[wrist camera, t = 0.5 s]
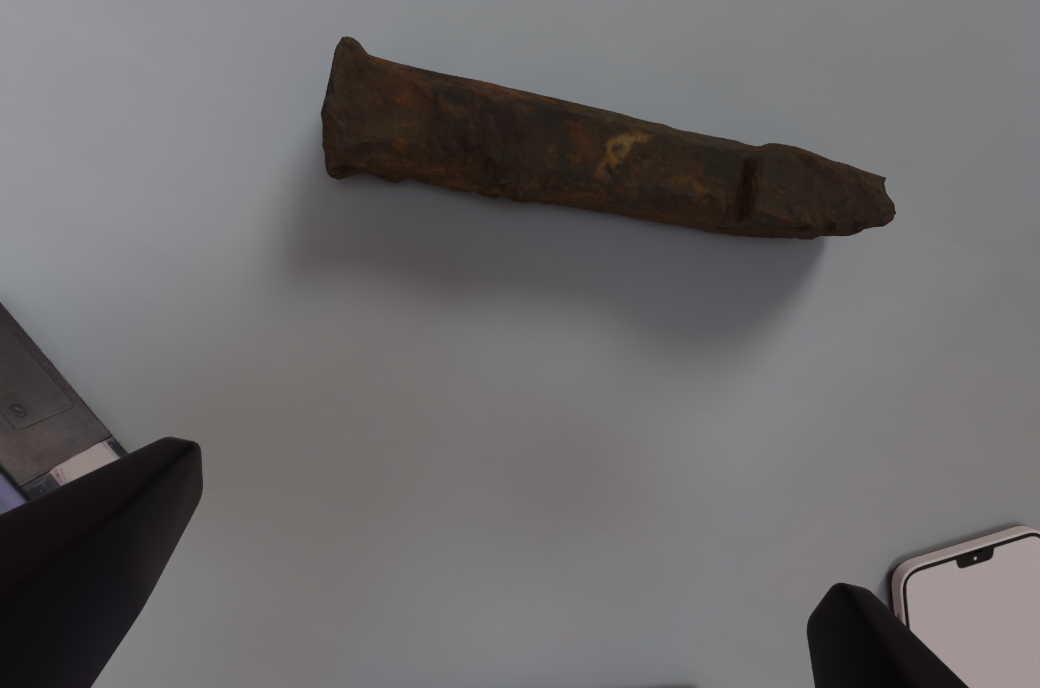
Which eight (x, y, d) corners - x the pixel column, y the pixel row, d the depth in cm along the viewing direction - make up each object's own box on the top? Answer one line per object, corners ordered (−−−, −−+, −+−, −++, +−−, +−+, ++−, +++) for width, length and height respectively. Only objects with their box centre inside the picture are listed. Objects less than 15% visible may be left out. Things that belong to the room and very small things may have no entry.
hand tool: (325, 182, 20) (300, 160, 16) (346, 60, 20) (327, 2, 16) (816, 293, 24) (909, 301, 20) (841, 192, 24) (942, 177, 19)
